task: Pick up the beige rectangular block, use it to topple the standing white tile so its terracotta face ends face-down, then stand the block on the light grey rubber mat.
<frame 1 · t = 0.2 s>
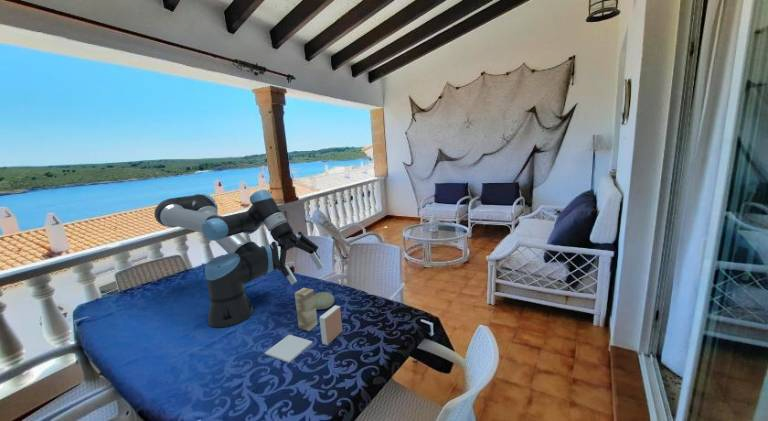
hand: (308, 275, 109), 15 cm above the table, tool tilted 35°, fingers open, 13 cm apart
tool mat: (289, 348, 92), on the table
beige rectangular block: (308, 326, 104), on the table
tile: (332, 337, 96), on the table
sea urchin shell: (322, 306, 118), on the table
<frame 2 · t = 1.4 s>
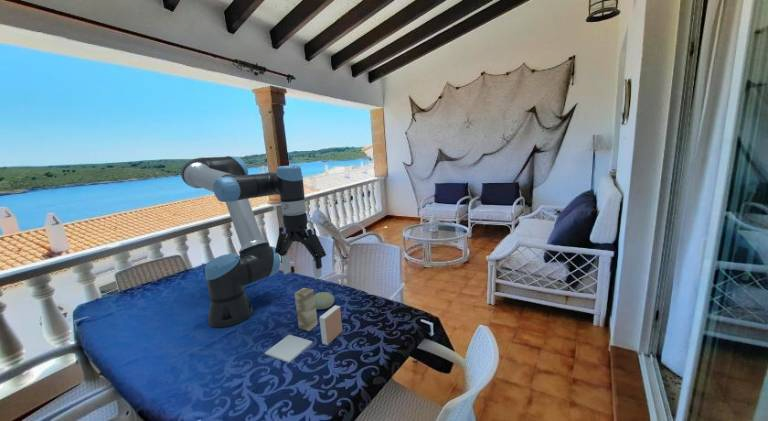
hand: (302, 275, 100), 19 cm above the table, tool pointing down, fingers open, 13 cm apart
nothing on the table moved.
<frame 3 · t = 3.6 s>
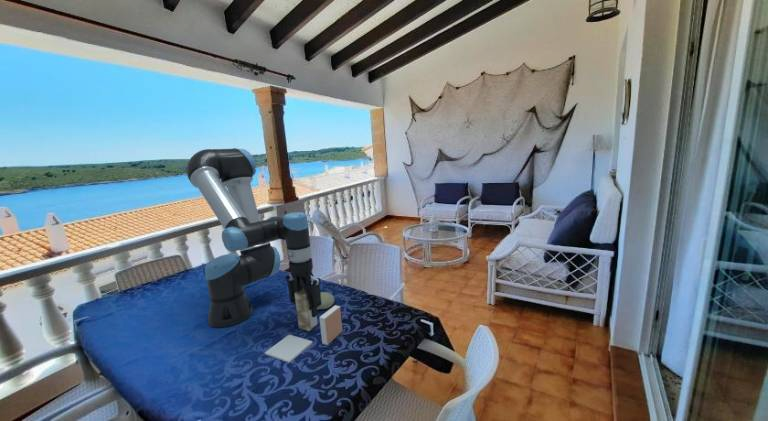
hand: (308, 323, 103), 1 cm above the table, tool pointing down, fingers closed on beige rectangular block, 4 cm apart
beige rectangular block: (308, 326, 104), on the table, touching gripper
everything else where it was.
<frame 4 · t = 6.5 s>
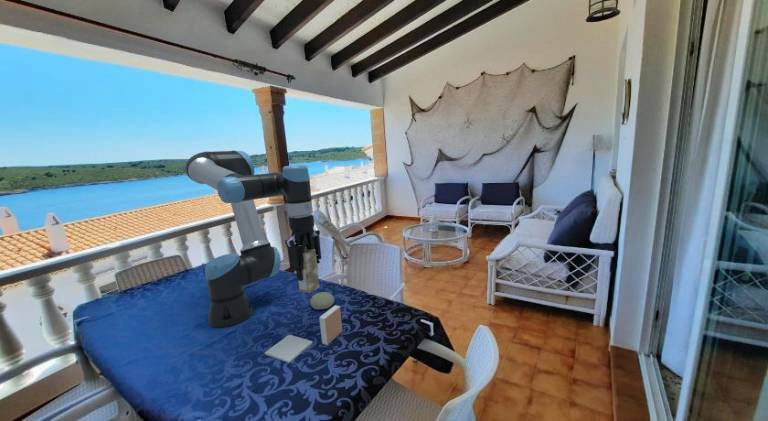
hand: (309, 285, 97), 17 cm above the table, tool pointing down, fingers closed on beige rectangular block, 4 cm apart
beige rectangular block: (309, 289, 97), point 15 cm above the table, touching gripper
everything else where it was.
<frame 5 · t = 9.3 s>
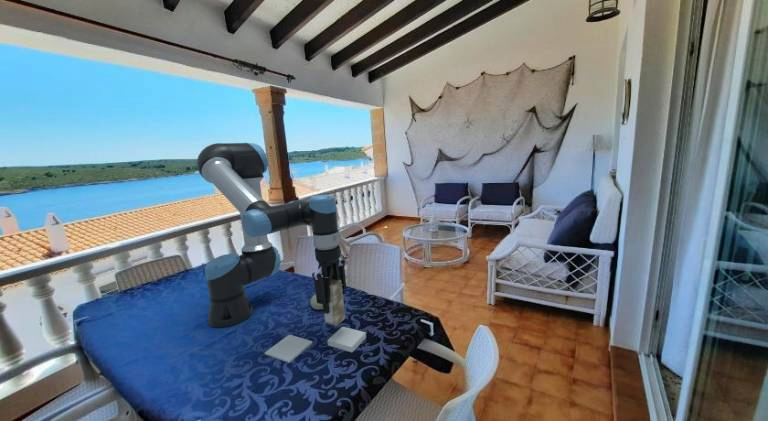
hand: (334, 317, 94), 7 cm above the table, tool pointing down, fingers closed on beige rectangular block, 4 cm apart
beige rectangular block: (335, 320, 94), point 6 cm above the table, touching gripper
tile: (335, 335, 96), point 1 cm above the table, tilted 90°
everything else where it was.
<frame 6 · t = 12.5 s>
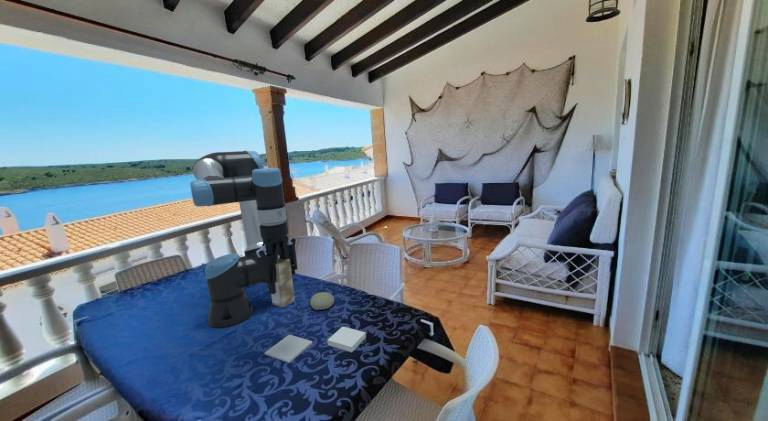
hand: (283, 298, 89), 17 cm above the table, tool pointing down, fingers closed on beige rectangular block, 4 cm apart
beige rectangular block: (284, 302, 89), point 15 cm above the table, touching gripper
everything else where it was.
when the fingers open (3 cm above the table, at t = 15.3 s): beige rectangular block drops 1 cm, resting on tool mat.
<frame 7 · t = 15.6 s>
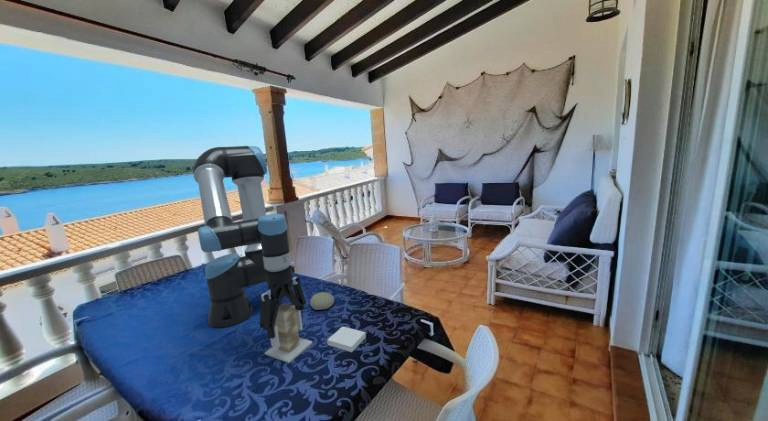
hand: (287, 337, 91), 4 cm above the table, tool pointing down, fingers open, 9 cm apart
beige rectangular block: (289, 346, 92), point 1 cm above the table, touching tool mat
everything else where it was.
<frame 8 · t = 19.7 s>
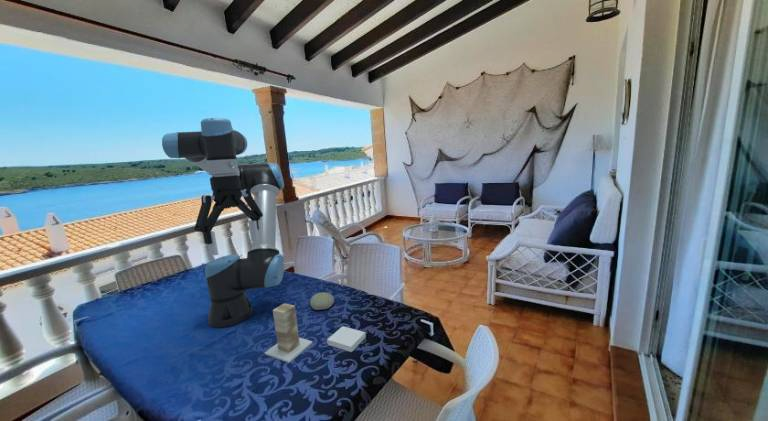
hand: (236, 247, 88), 33 cm above the table, tool pointing down, fingers open, 13 cm apart
nothing on the table moved.
at the end: tile tilted 90°; beige rectangular block inside the target area on the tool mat (0.0 cm from its centre), point 0.6 cm above the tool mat's base; beige rectangular block tilted 0° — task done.
